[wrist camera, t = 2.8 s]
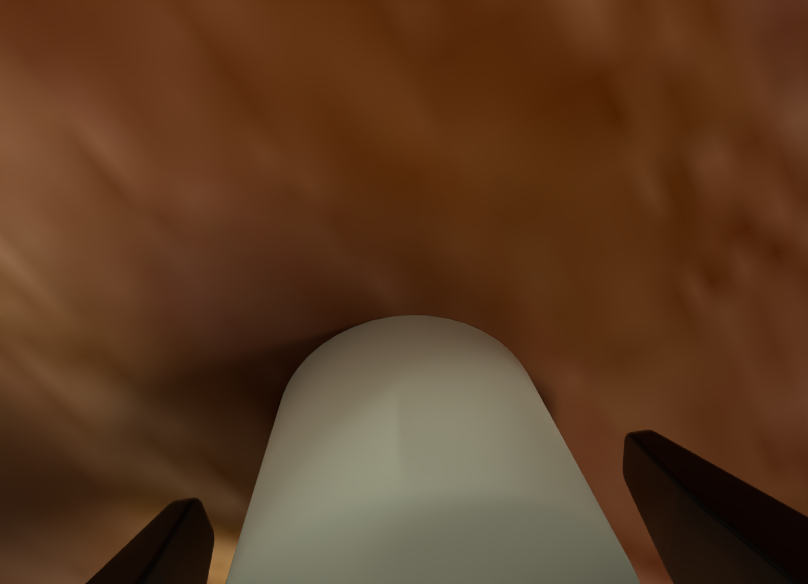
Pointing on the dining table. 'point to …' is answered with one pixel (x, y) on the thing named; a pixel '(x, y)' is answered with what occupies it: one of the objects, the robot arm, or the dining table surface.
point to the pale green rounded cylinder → (420, 471)
